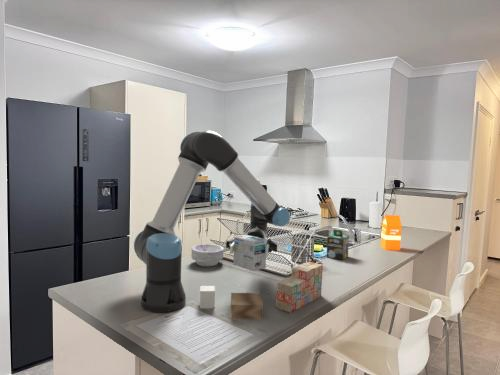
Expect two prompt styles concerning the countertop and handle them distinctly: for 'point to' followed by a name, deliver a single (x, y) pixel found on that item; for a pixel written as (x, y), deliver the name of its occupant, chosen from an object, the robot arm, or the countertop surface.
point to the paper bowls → (207, 254)
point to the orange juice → (391, 232)
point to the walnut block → (246, 306)
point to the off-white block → (207, 296)
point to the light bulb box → (249, 252)
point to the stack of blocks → (300, 287)
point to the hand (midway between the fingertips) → (248, 251)
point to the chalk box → (337, 245)
